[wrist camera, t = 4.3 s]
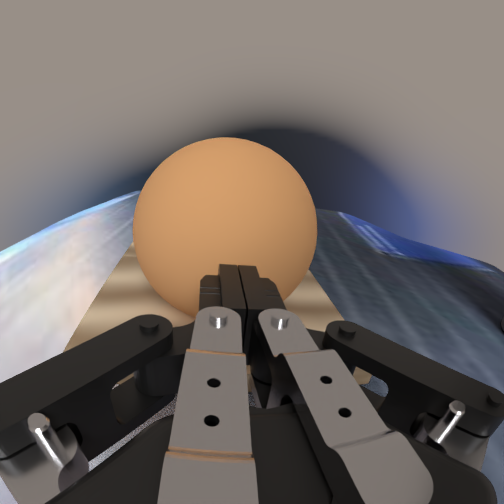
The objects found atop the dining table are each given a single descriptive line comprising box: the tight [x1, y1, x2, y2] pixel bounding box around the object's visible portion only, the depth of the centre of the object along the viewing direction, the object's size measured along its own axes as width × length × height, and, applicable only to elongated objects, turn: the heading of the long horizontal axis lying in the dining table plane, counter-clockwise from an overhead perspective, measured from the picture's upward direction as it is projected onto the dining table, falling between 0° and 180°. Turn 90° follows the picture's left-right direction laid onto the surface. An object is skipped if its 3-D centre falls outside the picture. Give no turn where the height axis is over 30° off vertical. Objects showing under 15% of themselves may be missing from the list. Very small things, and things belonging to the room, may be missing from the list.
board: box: [63, 242, 372, 392], centre depth 31 cm, size 32×19×2 cm, turn 7°
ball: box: [133, 138, 317, 317], centre depth 20 cm, size 12×12×12 cm
